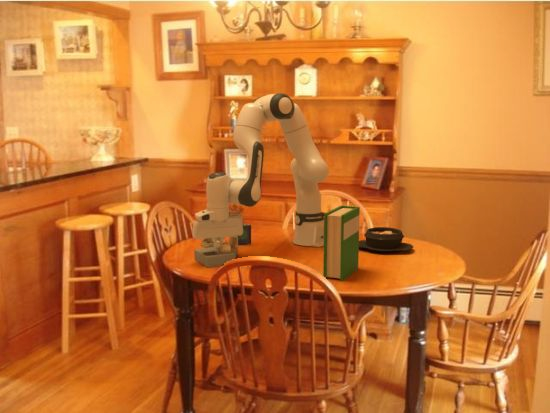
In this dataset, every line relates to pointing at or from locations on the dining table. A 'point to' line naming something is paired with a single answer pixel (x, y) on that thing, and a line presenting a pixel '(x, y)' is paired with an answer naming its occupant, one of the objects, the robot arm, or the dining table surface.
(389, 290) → the dining table surface
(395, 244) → the casserole
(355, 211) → the hardback book
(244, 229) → the flask
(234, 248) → the loose leg
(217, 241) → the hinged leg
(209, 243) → the ceramic model
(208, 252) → the grey recessed block
